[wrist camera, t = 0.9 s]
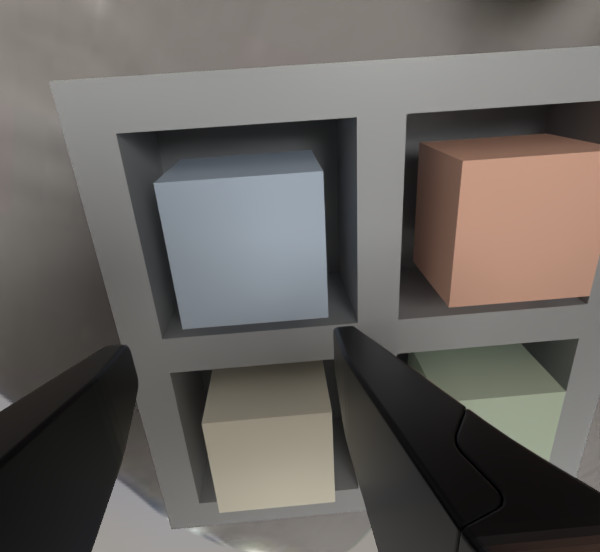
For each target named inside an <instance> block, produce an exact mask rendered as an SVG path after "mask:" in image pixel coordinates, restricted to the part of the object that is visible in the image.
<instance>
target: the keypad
mask: <svg viewBox="0 0 600 552" xmlns="http://www.w3.org/2000/svg"><path fill="white" fill-rule="evenodd" d="M49 84H50V87H51V91H52V95H53V98H54V102H55V106H56V109H57V113H58V117H59V120H60V124H61V128H62V131H63V135H64V139H65V142H66V146H67V150H68V153H69V157H70V160H71V164H72V168H73V171H74V175H75V179H76V182H77V186H78V190H79V193H80V197H81V201H82V204H83V208H84V212H85V215H86V219H87V223H88V226H89V230H90V233H91V237H92V241H93V244H94V248H95V252H96V255H97V259H98V263H99V266H100V270H101V274H102V277H103V281H104V285H105V288H106V292H107V296H108V299H109V303H110V306H111V310H112V314H113V317H114V321H115V325H116V328H117V332H118V336H119V339H120V343H121V345H127V346H128V347H129V348H130V350H131V353H132V357H133V361H134V365H135V369H136V372H137V376H138V392H137V397H136V401H137V405H138V409H139V412H140V416H141V420H142V423H143V427H144V431H145V434H146V438H147V442H148V445H149V449H150V453H151V456H152V460H153V463H154V467H155V471H156V474H157V478H158V482H159V485H160V489H161V493H162V496H163V500H164V504H165V507H166V511H167V515H168V518H169V522H170V525H171V529H180V528H190V527H201V526H211V525H222V524H232V523H242V522H253V521H263V520H274V519H284V518H295V517H305V516H316V515H326V514H337V513H347V512H358V511H366V507H365V504H364V500H363V497H362V493H361V490H360V487H359V483H358V480H357V476H356V473H355V469H354V466H353V463H352V459H351V456H350V452H349V449H348V445H347V441H346V437H345V432H344V427H343V420H342V414H341V407H340V401H339V394H338V388H337V382H336V375H335V367H334V344H333V330H334V328H336V327H342V326H354V327H356V328H357V329H359V330H360V331H362V332H363V333H364V334H366V335H367V336H368V337H370V338H371V339H373V340H374V341H375V342H377V343H378V344H380V345H381V346H382V347H384V348H385V349H386V350H388V351H389V352H391V353H392V354H393V355H395V356H396V357H398V358H399V359H400V360H402V361H403V362H404V363H406V364H407V365H408V353H412V352H424V351H436V350H447V349H459V348H471V347H483V346H495V345H506V344H518V343H521V344H522V345H523V346H524V347H525V348H526V349H527V351H528V352H529V353H530V354H531V355H532V356H533V357H534V358H535V359H536V360H537V361H538V362H539V363H540V364H541V365H542V366H543V368H544V369H545V370H546V371H547V372H548V373H549V374H550V375H551V376H552V377H553V378H554V379H555V380H556V381H557V382H558V383H559V385H560V386H561V387H562V388H563V389H564V390H565V391H566V394H565V398H564V402H563V406H562V410H561V414H560V418H559V422H558V426H557V430H556V435H555V439H554V443H553V447H552V451H551V455H550V459H549V462H550V463H552V464H553V465H555V466H557V467H558V468H560V469H562V470H563V471H565V472H567V473H569V474H570V475H572V476H574V477H575V478H576V476H577V472H578V469H579V465H580V462H581V458H582V455H583V452H584V448H585V445H586V441H587V438H588V434H589V431H590V427H591V424H592V420H593V417H594V413H595V410H596V406H597V403H598V399H599V396H600V256H599V260H598V264H597V268H596V272H595V276H594V280H593V284H592V288H591V292H590V296H585V297H572V298H560V299H548V300H536V301H523V302H511V303H499V304H487V305H475V306H462V307H450V308H449V307H448V306H447V305H446V303H445V302H444V301H443V299H442V298H441V297H440V295H439V294H438V293H437V292H436V290H435V289H434V288H433V286H432V285H431V284H430V283H429V281H428V280H427V279H426V277H425V276H424V275H423V274H422V272H421V271H420V270H419V268H418V267H417V266H416V264H415V263H414V262H413V253H414V234H415V216H416V197H417V178H418V159H419V142H431V141H445V140H459V139H473V138H488V137H502V136H516V135H530V134H545V133H546V134H551V135H556V136H561V137H566V138H571V139H576V140H581V141H586V142H591V143H596V144H600V46H587V47H571V48H556V49H540V50H524V51H509V52H493V53H478V54H462V55H447V56H431V57H415V58H400V59H384V60H369V61H353V62H338V63H322V64H307V65H291V66H275V67H260V68H244V69H229V70H213V71H198V72H182V73H166V74H151V75H135V76H120V77H104V78H89V79H73V80H58V81H49ZM302 150H312V152H313V154H314V155H315V157H316V159H317V161H318V163H319V164H320V166H321V168H322V170H323V179H324V207H325V234H326V262H327V289H328V316H329V317H328V318H316V319H303V320H291V321H279V322H267V323H255V324H242V325H230V326H218V327H206V328H193V329H182V324H181V319H180V314H179V309H178V304H177V299H176V294H175V289H174V284H173V279H172V274H171V269H170V264H169V259H168V254H167V249H166V244H165V239H164V234H163V229H162V224H161V219H160V214H159V209H158V204H157V199H156V194H155V189H154V184H153V183H154V182H155V181H156V180H158V179H159V178H160V177H161V176H162V175H163V174H164V173H165V172H167V171H168V170H169V169H170V168H171V167H172V166H173V165H174V164H176V163H177V162H178V161H179V160H180V159H188V158H203V157H217V156H231V155H245V154H260V153H274V152H288V151H302ZM317 360H323V365H324V371H325V376H326V382H327V387H328V393H329V398H330V404H331V409H332V426H333V453H334V481H335V502H330V503H320V504H309V505H299V506H288V507H278V508H267V509H256V510H246V511H235V512H225V513H219V509H218V504H217V499H216V494H215V489H214V484H213V479H212V474H211V469H210V464H209V459H208V454H207V449H206V444H205V439H204V434H203V429H202V419H203V414H204V409H205V404H206V399H207V394H208V389H209V384H210V379H211V374H212V369H223V368H235V367H247V366H258V365H270V364H282V363H294V362H306V361H317Z"/></svg>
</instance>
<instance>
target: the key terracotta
mask: <svg viewBox="0 0 600 552" xmlns="http://www.w3.org/2000/svg"><path fill="white" fill-rule="evenodd" d="M599 256H600V144H596V143H591V142H586V141H581V140H576V139H571V138H566V137H561V136H556V135H551V134H546V133H545V134H530V135H516V136H502V137H488V138H473V139H459V140H445V141H431V142H419V159H418V178H417V197H416V216H415V234H414V253H413V262H414V263H415V264H416V266H417V267H418V268H419V270H420V271H421V272H422V274H423V275H424V276H425V277H426V279H427V280H428V281H429V283H430V284H431V285H432V286H433V288H434V289H435V290H436V292H437V293H438V294H439V295H440V297H441V298H442V299H443V301H444V302H445V303H446V305H447V306H448V307H449V308H450V307H462V306H475V305H487V304H499V303H511V302H523V301H536V300H548V299H560V298H572V297H585V296H590V292H591V288H592V284H593V280H594V276H595V272H596V268H597V264H598V260H599Z"/></svg>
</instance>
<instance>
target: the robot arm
mask: <svg viewBox="0 0 600 552" xmlns="http://www.w3.org/2000/svg"><path fill="white" fill-rule="evenodd" d="M333 344H334V367H335V375H336V382H337V388H338V394H339V401H340V407H341V414H342V420H343V427H344V432H345V437H346V441H347V445H348V449H349V452H350V456H351V459H352V463H353V466H354V469H355V473H356V476H357V480H358V483H359V487H360V490H361V493H362V497H363V500H364V504H365V507H366V511H367V514H368V517H369V521H370V524H371V528H372V531H373V535H374V538H375V541H376V545H377V548H378V552H600V492H599V491H597V490H595V489H594V488H592V487H590V486H589V485H587V484H585V483H584V482H582V481H580V480H579V479H577V478H575V477H574V476H572V475H570V474H569V473H567V472H565V471H563V470H562V469H560V468H558V467H557V466H555V465H553V464H552V463H550V462H548V461H547V460H545V459H543V458H542V457H540V456H539V455H537V454H535V453H534V452H532V451H531V450H529V449H527V448H526V447H524V446H523V445H521V444H519V443H518V442H516V441H515V440H513V439H511V438H510V437H509V436H507V435H506V434H504V433H503V432H501V431H500V430H498V429H497V428H495V427H494V426H492V425H491V424H490V423H488V422H487V421H485V420H484V419H482V418H481V417H480V416H478V415H477V414H475V413H474V412H473V411H471V410H470V409H467V410H466V407H465V406H464V405H463V404H461V403H460V402H459V401H457V400H456V399H454V398H453V397H452V396H450V395H449V394H447V393H446V392H445V391H443V390H442V389H441V388H439V387H438V386H436V385H435V384H434V383H432V382H431V381H429V380H428V379H427V378H425V377H424V376H423V375H421V374H420V373H418V372H417V371H416V370H414V369H413V368H411V367H410V366H409V365H407V364H406V363H404V362H403V361H402V360H400V359H399V358H398V357H396V356H395V355H393V354H392V353H391V352H389V351H388V350H386V349H385V348H384V347H382V346H381V345H380V344H378V343H377V342H375V341H374V340H373V339H371V338H370V337H368V336H367V335H366V334H364V333H363V332H362V331H360V330H359V329H357V328H356V327H354V326H342V327H336V328H334V330H333ZM137 392H138V376H137V372H136V369H135V365H134V361H133V357H132V353H131V350H130V348H129V347H128V346H127V345H110V346H106V347H104V348H102V349H100V350H99V351H97V352H96V353H94V354H92V355H91V356H89V357H88V358H86V359H84V360H83V361H81V362H80V363H78V364H76V365H75V366H73V367H71V368H70V369H68V370H67V371H65V372H63V373H62V374H60V375H59V376H57V377H55V378H54V379H52V380H50V381H49V382H47V383H46V384H44V385H42V386H41V387H39V388H38V389H36V390H34V391H33V392H31V393H30V394H28V395H26V396H25V397H23V398H21V399H20V400H18V401H17V402H15V403H13V404H12V405H10V406H9V407H7V408H5V409H4V410H2V411H1V412H0V552H91V551H92V548H93V545H94V543H95V540H96V537H97V534H98V531H99V528H100V525H101V522H102V519H103V516H104V513H105V510H106V507H107V504H108V502H109V498H110V496H111V493H112V490H113V487H114V484H115V481H116V478H117V475H118V472H119V469H120V466H121V463H122V460H123V456H124V452H125V448H126V444H127V439H128V434H129V430H130V425H131V420H132V416H133V411H134V406H135V402H136V397H137Z"/></svg>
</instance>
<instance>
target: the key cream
mask: <svg viewBox="0 0 600 552" xmlns="http://www.w3.org/2000/svg"><path fill="white" fill-rule="evenodd" d="M202 429H203V434H204V439H205V444H206V449H207V454H208V459H209V464H210V469H211V474H212V479H213V484H214V489H215V494H216V499H217V504H218V509H219V513H225V512H235V511H246V510H256V509H267V508H278V507H288V506H299V505H309V504H320V503H330V502H335V481H334V453H333V426H332V409H331V404H330V398H329V393H328V387H327V382H326V376H325V371H324V365H323V360H317V361H306V362H294V363H282V364H270V365H258V366H247V367H235V368H223V369H212V374H211V379H210V384H209V389H208V394H207V399H206V404H205V409H204V414H203V419H202Z"/></svg>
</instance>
